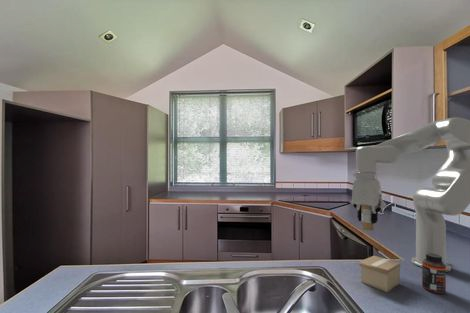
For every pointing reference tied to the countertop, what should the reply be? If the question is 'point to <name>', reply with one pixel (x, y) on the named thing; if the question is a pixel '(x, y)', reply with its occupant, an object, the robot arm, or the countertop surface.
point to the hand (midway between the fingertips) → (367, 221)
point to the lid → (379, 264)
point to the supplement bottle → (434, 274)
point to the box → (380, 278)
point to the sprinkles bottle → (366, 218)
